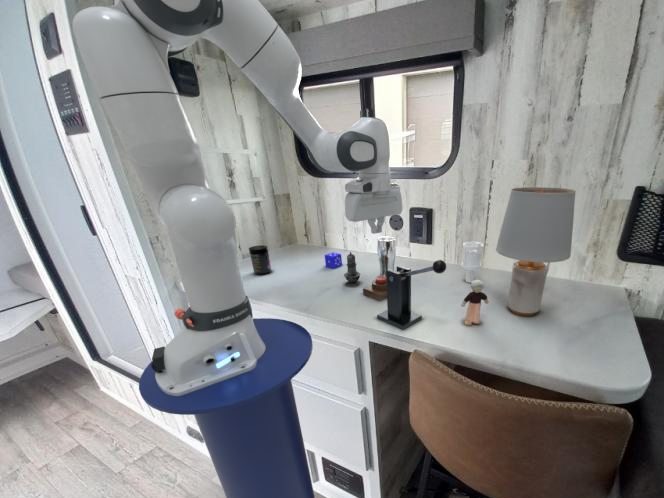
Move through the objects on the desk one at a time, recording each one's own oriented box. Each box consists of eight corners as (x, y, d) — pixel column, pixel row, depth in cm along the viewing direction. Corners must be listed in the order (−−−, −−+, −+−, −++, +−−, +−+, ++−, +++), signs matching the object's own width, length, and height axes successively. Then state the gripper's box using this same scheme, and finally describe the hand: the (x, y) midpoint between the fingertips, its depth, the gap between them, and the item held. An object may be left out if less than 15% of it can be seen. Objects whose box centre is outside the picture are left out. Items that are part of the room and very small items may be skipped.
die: (325, 266, 131) (324, 255, 128) (334, 263, 134) (333, 252, 132) (333, 268, 128) (332, 257, 126) (342, 265, 132) (341, 254, 130)
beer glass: (375, 275, 120) (374, 237, 113) (392, 273, 122) (391, 235, 116) (382, 281, 114) (380, 241, 108) (399, 278, 116) (398, 239, 110)
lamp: (482, 296, 101) (495, 187, 86) (541, 297, 100) (563, 186, 86) (497, 325, 83) (516, 194, 69) (568, 326, 83) (602, 193, 68)
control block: (379, 300, 99) (379, 289, 97) (363, 294, 104) (362, 283, 102) (400, 291, 105) (400, 280, 104) (383, 285, 110) (383, 275, 109)
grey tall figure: (352, 279, 116) (350, 248, 111) (364, 282, 113) (362, 251, 108) (341, 284, 112) (338, 252, 107) (353, 287, 109) (350, 255, 104)
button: (381, 285, 101) (381, 280, 100) (374, 283, 103) (373, 278, 102) (389, 282, 103) (389, 277, 102) (381, 280, 105) (381, 275, 105)
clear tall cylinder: (467, 285, 109) (471, 244, 103) (456, 279, 115) (459, 239, 109) (483, 282, 112) (488, 242, 106) (471, 276, 118) (475, 237, 112)
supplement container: (269, 275, 121) (264, 249, 117) (252, 276, 121) (246, 250, 116) (274, 269, 128) (269, 245, 123) (257, 270, 127) (251, 245, 122)
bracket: (421, 319, 87) (422, 269, 81) (403, 330, 82) (402, 278, 75) (395, 308, 93) (395, 262, 87) (377, 318, 88) (374, 269, 82)
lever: (450, 270, 72) (446, 257, 71) (442, 273, 70) (438, 260, 69) (401, 280, 84) (397, 269, 84) (393, 284, 82) (389, 272, 82)
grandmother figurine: (466, 328, 82) (470, 284, 77) (458, 322, 85) (461, 279, 80) (489, 322, 85) (494, 279, 80) (480, 316, 88) (485, 275, 83)
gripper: (391, 181, 96) (392, 226, 102) (339, 185, 82) (343, 236, 88) (407, 182, 92) (406, 229, 98) (355, 186, 78) (358, 240, 84)
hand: (376, 232), depth 93 cm, fingers closed
